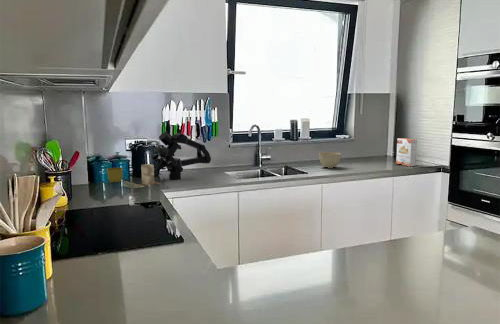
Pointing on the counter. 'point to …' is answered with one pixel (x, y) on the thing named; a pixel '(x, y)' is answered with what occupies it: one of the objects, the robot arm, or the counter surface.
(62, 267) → the counter surface
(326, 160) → the planter bowl
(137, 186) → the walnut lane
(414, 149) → the cracker box
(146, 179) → the beech block
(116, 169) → the flower pot
